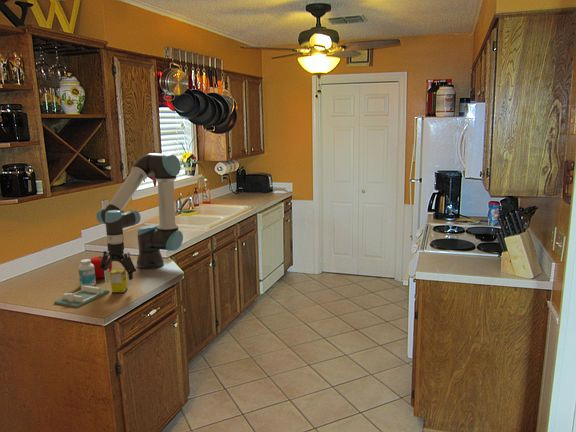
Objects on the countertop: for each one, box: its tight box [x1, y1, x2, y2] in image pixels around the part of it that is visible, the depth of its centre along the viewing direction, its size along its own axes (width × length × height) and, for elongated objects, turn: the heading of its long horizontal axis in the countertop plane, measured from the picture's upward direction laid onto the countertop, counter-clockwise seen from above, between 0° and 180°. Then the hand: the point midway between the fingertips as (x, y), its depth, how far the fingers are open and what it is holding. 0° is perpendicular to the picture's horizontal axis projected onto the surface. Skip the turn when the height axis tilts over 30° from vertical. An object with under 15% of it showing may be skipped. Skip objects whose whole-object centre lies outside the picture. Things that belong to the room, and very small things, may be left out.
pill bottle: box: [77, 258, 97, 287], centre depth 239 cm, size 8×7×14 cm
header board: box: [54, 285, 110, 309], centre depth 223 cm, size 20×14×5 cm
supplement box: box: [110, 268, 128, 295], centre depth 231 cm, size 6×6×11 cm
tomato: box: [89, 255, 113, 279], centre depth 252 cm, size 12×14×11 cm
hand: (118, 284), depth 231 cm, fingers open, 13 cm apart
